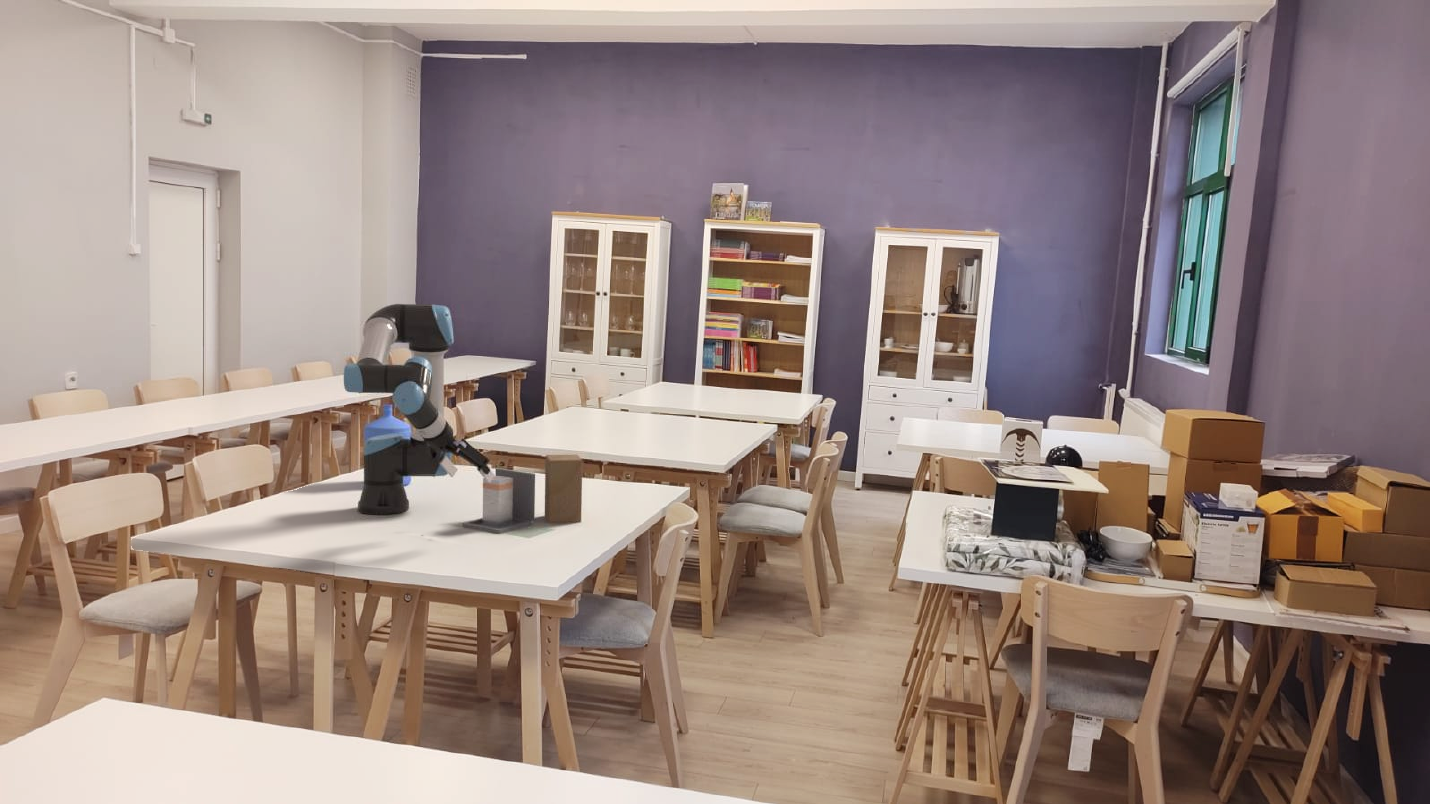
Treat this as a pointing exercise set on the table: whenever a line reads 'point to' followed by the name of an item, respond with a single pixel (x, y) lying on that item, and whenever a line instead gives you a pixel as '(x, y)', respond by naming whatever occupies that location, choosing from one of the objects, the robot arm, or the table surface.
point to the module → (498, 502)
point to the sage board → (531, 531)
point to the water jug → (388, 429)
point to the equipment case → (514, 502)
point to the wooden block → (563, 488)
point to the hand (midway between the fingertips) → (472, 476)
